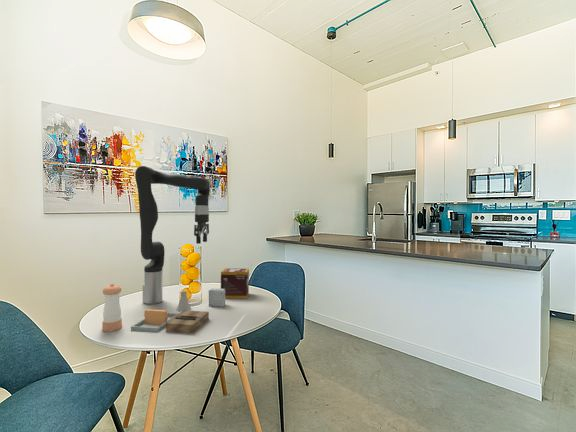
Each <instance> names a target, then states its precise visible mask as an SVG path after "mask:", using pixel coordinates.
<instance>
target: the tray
mask: <svg viewBox="0 0 576 432" xmlns="http://www.w3.org/2000/svg"><path fill="white" fill-rule="evenodd" d="M178 314H180V312H179V313H175V312H167V318H168V317H171V318H170V319H167V321H166V322H165V323H163V324H159V325H158V327H151V326H143V325H145V323H144V318H143V319H142V320H140V321H138V322H136V323H134V324H133V325H131V326H130V332H133V331H136V332H137V331H139V332H151V333H159V332H160V331H161V330H163V329H164V328H166V323H167V322H168V321H170V320H171V319H172V318H174V317H175V316H177V315H178Z"/></svg>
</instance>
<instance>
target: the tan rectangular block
mask: <svg viewBox="0 0 576 432" xmlns="http://www.w3.org/2000/svg"><path fill="white" fill-rule="evenodd" d="M143 313H144V318H143V319H144V324H157V325H162V324H163V323H165V322H166V321H168V317H167V313H168V310H165V309H149V308H146V309H144V312H143Z"/></svg>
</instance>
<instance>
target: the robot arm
mask: <svg viewBox="0 0 576 432" xmlns="http://www.w3.org/2000/svg"><path fill="white" fill-rule="evenodd" d="M134 178H135V182H136V189H137V195H138V196H137V197H138V198H137V199H138V208H139V210H138V211H139V221H140V254H141V257H142V258H143V260H146V261H147V260H148V261H149V260H150V261H149V262H148V263H147V264H146V265H145V266H144V267H143V268H144V269H143V270H144V272H143V273H144V277H143V278H144V280H143V281H144V282H143V283H144V284H143V285H142V303H144V304H146V305H152V304H153V305H154V304H155V305H156V304H159V303H162V302H163V297H164V296H163V268H164V266H165V265H164V264H165V245H164V244H163V243H162V242H160V241H153V234H154V233H153V231H154V230H155V227H156V225H157V222H158V219H159V209H158V205H157V201H156V199H155V197H154V194H153V191H152V184H153V185H155V184H159V185H168V186H173V187H177V188H182V189H183V188H184V189H192V190H196V191H197V193H196V196H195V200H194V201H195V206H194V222H195V223H197V224H194V226H193V227H194V228H193V230H194V231H193V235H194V236H195V237H196V239H195V240H196V242H195V243H196V244H198V245H200V244H202V242H203V243H207V242H208V235H209V234H210V224H209V221H210V218H209V217H210V208H209V195H210V190H211V184H210V181H209V180H208V179H207V178H204V177H201V176H200V177H199V176H190V175H187V174H182V173H181V174H179V173H168V172H167V173H166V172H162V171H158V170H155V169H153V168H152V167H149V166H146V165H139V166H138V167H137V168H136V170H135V174H134ZM201 241H202V242H201Z"/></svg>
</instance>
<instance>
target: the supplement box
mask: <svg viewBox="0 0 576 432" xmlns="http://www.w3.org/2000/svg"><path fill="white" fill-rule="evenodd" d="M249 271H250V269H249V268H224V269H223V270H221V272H220V289H225V299H247V298H248V296H249V294H250V293H249V292H250V291H249V287H250V283H249V282H250V281H249V277H250V272H249Z"/></svg>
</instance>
